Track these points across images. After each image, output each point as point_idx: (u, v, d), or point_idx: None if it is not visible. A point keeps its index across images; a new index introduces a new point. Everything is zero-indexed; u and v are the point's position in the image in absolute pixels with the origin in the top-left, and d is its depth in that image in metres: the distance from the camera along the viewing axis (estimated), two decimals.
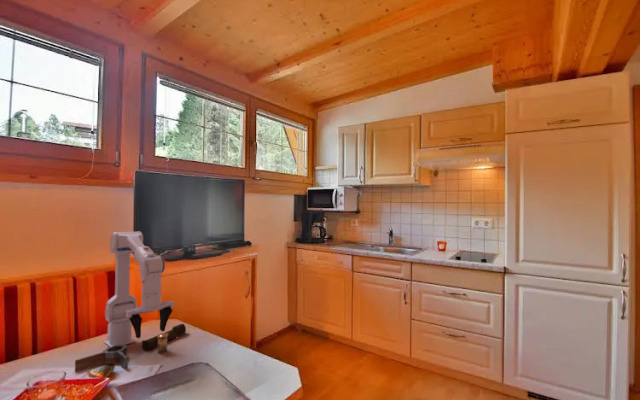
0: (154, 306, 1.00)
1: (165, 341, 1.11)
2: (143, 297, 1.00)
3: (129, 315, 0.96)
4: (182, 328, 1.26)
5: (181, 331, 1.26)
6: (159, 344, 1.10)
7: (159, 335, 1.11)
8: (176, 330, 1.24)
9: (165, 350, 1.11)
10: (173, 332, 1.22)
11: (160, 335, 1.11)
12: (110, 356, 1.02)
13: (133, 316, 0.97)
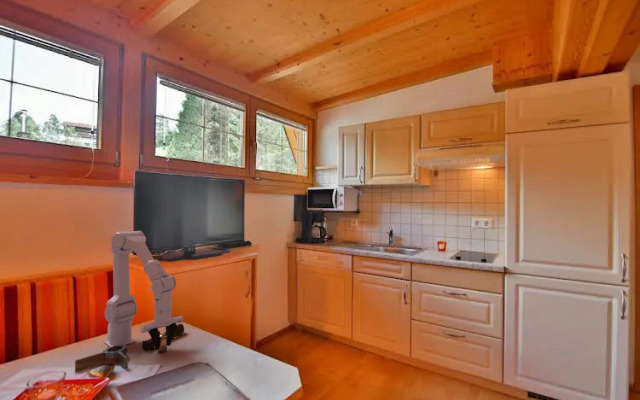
0: (166, 322, 1.10)
1: (165, 341, 1.11)
2: (156, 314, 1.09)
3: (143, 331, 1.06)
4: (181, 328, 1.27)
5: (180, 331, 1.26)
6: (159, 344, 1.10)
7: None
8: None
9: (165, 350, 1.11)
10: None
11: (160, 335, 1.11)
12: (110, 356, 1.02)
13: None
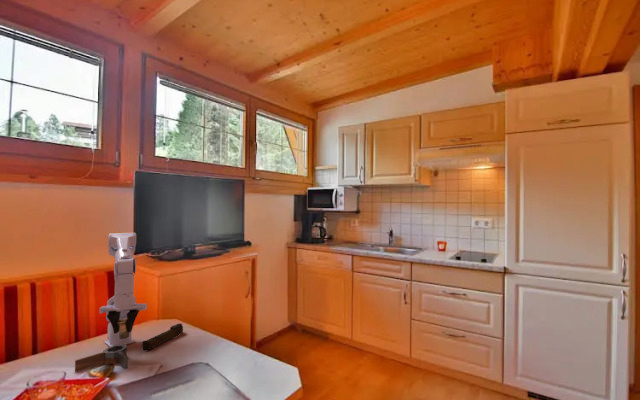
0: (120, 306, 1.05)
1: (123, 327, 1.06)
2: (114, 296, 1.06)
3: (100, 311, 1.05)
4: (180, 327, 1.27)
5: (179, 330, 1.26)
6: None
7: (120, 320, 1.07)
8: (174, 330, 1.24)
9: (124, 336, 1.06)
10: (172, 332, 1.23)
11: (121, 320, 1.07)
12: (110, 356, 1.02)
13: (104, 312, 1.05)
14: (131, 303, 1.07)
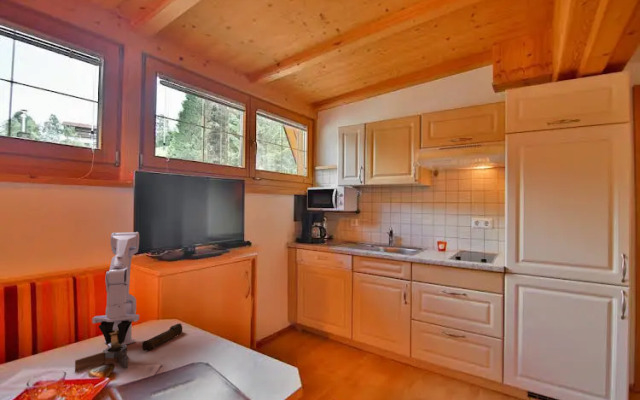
0: (111, 317, 1.03)
1: (115, 338, 1.04)
2: None
3: (93, 321, 1.05)
4: (179, 328, 1.27)
5: (178, 331, 1.26)
6: None
7: (113, 330, 1.06)
8: (174, 330, 1.24)
9: (115, 347, 1.04)
10: (171, 332, 1.23)
11: (113, 330, 1.06)
12: (110, 356, 1.02)
13: None
14: (123, 314, 1.06)
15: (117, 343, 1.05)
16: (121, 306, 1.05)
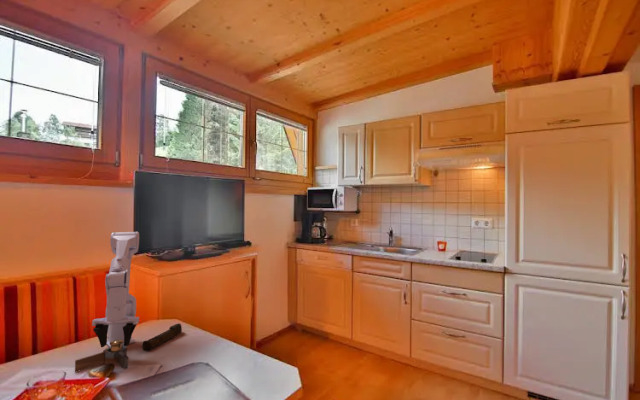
0: (111, 320, 1.03)
1: (115, 349, 1.04)
2: None
3: (93, 324, 1.04)
4: (179, 327, 1.27)
5: (178, 330, 1.27)
6: (111, 350, 1.05)
7: (114, 341, 1.06)
8: (174, 330, 1.24)
9: None
10: (171, 332, 1.23)
11: (114, 341, 1.06)
12: (110, 356, 1.02)
13: (97, 325, 1.05)
14: (123, 316, 1.06)
15: None
16: (121, 309, 1.05)
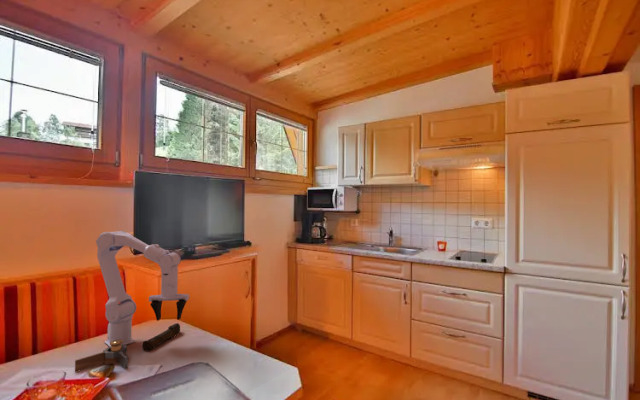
0: (166, 296, 1.16)
1: (115, 349, 1.04)
2: None
3: (149, 299, 1.17)
4: (178, 327, 1.27)
5: (177, 330, 1.27)
6: (111, 350, 1.05)
7: (114, 341, 1.06)
8: (173, 329, 1.24)
9: None
10: (170, 331, 1.23)
11: (114, 341, 1.06)
12: (110, 356, 1.02)
13: (153, 301, 1.17)
14: (175, 293, 1.18)
15: None
16: (174, 286, 1.18)
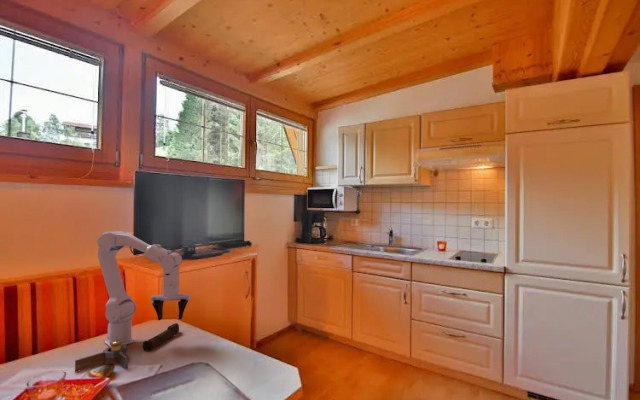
0: (167, 296, 1.16)
1: (115, 349, 1.04)
2: (163, 286, 1.18)
3: (151, 299, 1.17)
4: (177, 327, 1.28)
5: (176, 330, 1.27)
6: (111, 350, 1.05)
7: (114, 341, 1.06)
8: (172, 329, 1.24)
9: None
10: (170, 331, 1.23)
11: (114, 341, 1.06)
12: (110, 356, 1.02)
13: (154, 301, 1.18)
14: (177, 293, 1.19)
15: None
16: (176, 286, 1.18)
